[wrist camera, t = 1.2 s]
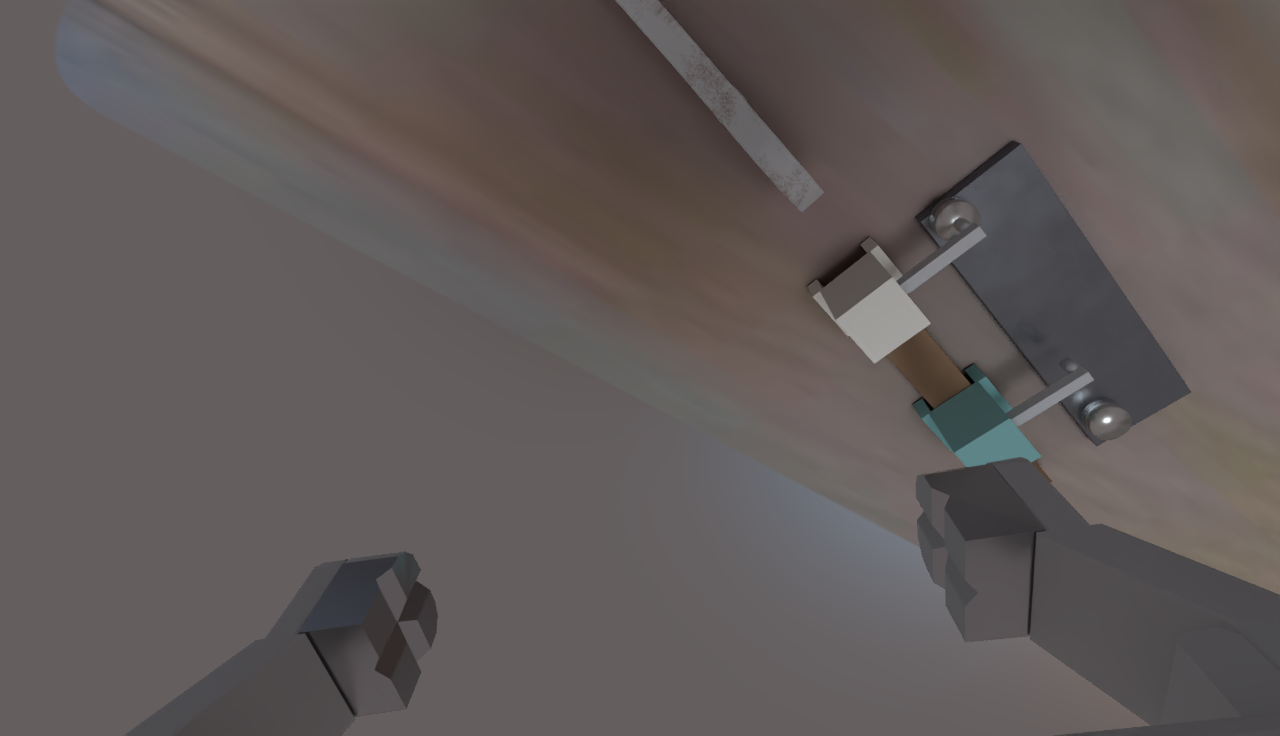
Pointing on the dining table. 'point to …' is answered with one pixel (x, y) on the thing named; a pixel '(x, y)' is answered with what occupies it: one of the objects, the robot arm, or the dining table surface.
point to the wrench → (724, 101)
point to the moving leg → (994, 417)
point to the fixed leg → (886, 293)
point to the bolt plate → (1054, 294)
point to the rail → (932, 371)
